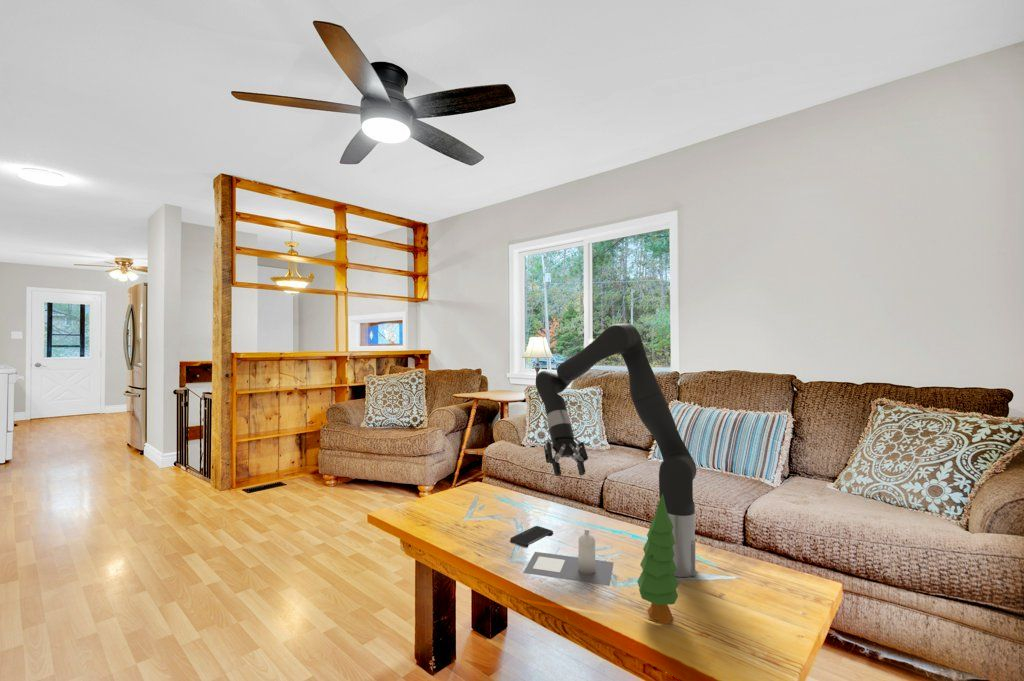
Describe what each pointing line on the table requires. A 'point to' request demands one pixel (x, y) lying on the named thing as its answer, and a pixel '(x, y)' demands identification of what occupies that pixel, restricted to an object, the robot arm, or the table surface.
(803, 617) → the table surface
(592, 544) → the white rounded cylinder
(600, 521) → the table surface
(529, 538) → the phone
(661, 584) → the decorative tree
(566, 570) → the mat
